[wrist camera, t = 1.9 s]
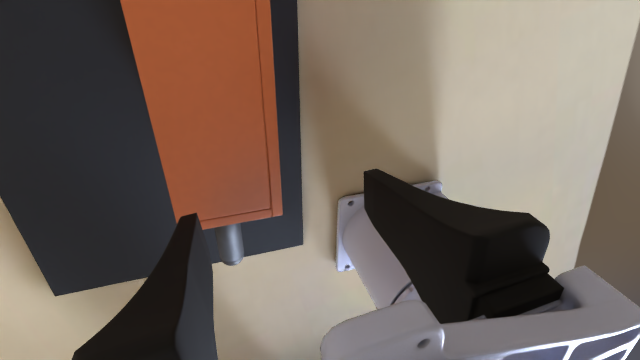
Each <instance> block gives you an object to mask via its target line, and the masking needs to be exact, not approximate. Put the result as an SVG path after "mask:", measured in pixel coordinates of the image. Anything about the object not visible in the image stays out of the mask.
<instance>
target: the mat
mask: <svg viewBox="0 0 640 360" xmlns="http://www.w3.org/2000/svg"><path fill="white" fill-rule="evenodd" d="M270 9H271V26H272V42H273V59H274V76H275V93H276V109H277V126H278V143H279V159H280V176H281V193H282V210H283V214H282V215H280V216H274V217H273V216H272V217H269V218H264V219H258V220H253V221H247V222H242V223H240V225H241V233H242V240H243V247H244V257H246V256H251V255H256V254H261V253H266V252H270V251H275V250H280V249H285V248H290V247H294V246H299V245H303V219H302V179H301V139H300V99H299V58H298V18H297V0H270ZM0 197H1V198H2V200H3V202H4V204H5V206H6V208H7V209H8V211H9V213H10V215H11V217H12V219H13V220H14V222H15V224H16V226H17V228H18V229H19V231H20V233H21V235H22V237H23V239H24V240H25V242H26V244H27V246H28V248H29V250H30V251H31V253H32V255H33V257H34V259H35V261H36V262H37V264H38V266H39V268H40V270H41V272H42V273H43V275H44V277H45V279H46V281H47V282H48V284H49V286H50V288H51V290H52V292H53V293H54V295H55V296H59V295H64V294H69V293H74V292H79V291H83V290H88V289H93V288H98V287H103V286H107V285H112V284H117V283H122V282H127V281H131V280H136V279H141V278H146V277H149V275H150V274H151V272H152V271H153V269H154V268H155V266H156V264H157V263H158V261H159V259H160V258H161V256H162V254H163V252H164V250H165V248H166V247H167V245H168V243H169V241H170V239H171V237H172V234H173V232H174V230H175V228H176V225H177V223H176V219H175V215H174V211H173V207H172V203H171V199H170V195H169V191H168V187H167V183H166V179H165V175H164V171H163V167H162V163H161V159H160V155H159V152H158V148H157V144H156V140H155V136H154V132H153V128H152V124H151V120H150V116H149V112H148V108H147V104H146V100H145V96H144V92H143V88H142V84H141V81H140V77H139V73H138V69H137V65H136V61H135V57H134V53H133V49H132V45H131V41H130V37H129V33H128V29H127V25H126V21H125V17H124V13H123V10H122V6H121V2H120V0H0ZM203 233H204V236H205V239H206V242H207V245H208V248H209V251H210V257H211V264H213V263H218V262H222V261H221V259H220V256H219V251H218V245H217V240H216V235H215V229H214V228H209V229H204V230H203Z"/></svg>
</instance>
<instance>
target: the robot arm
mask: <svg viewBox="0 0 640 360" xmlns="http://www.w3.org/2000/svg"><path fill="white" fill-rule="evenodd" d="M426 187H427V188H426ZM425 188H426V189H425ZM441 190H442V183H441V182H440V181H438V180H436V181H431V182H425V183H419V184H414V185H410V184H408V183H406V182H404V181H402V180H400V179H398V178H396V177H394V176H392V175H390V174H387V173H385V172H383V171H381V170H379V169H372V170H368V171H364V193H363V194H358V195H352V196H346V197H342V198H341V199H340V200H339V201H338V215H337V242H336V269H337V271H339V272H343V271H347V270H351V269H356V271H357V273H358V275H359V276H360V278H361V280H362V282H363V284H364V286H365V287H366V289H367V291H368V293H369V295H370V296H371V298H372V300H373V302H374V304H375V306H376V307H377V309H378V310H375V311H372V312H369V313H366V314H363V315H360V316H357V317H354V318H351V319H348V320H345V321H343V322H341V323H339V324H338V325H336V326H334V327H332V328H331V329H330V331H329V332H328V333H327V334H326V335H325V336H324V337H323V339H322V343H321V347H320V351H321V360H625V358H626V357H627V355H628V354H629V352H630V351H631V349H632V348H633V347H634V345H635V344H636V342H637V340H638V339H639V338H640V307H638V306H637V305H636V304H634V303H633V302H632V301H630V300H629V299H628V298H626V297H625V296H624V295H623V294H621V293H620V292H619V291H618V290H616V289H615V288H614V287H612V286H611V285H610V284H608V283H607V282H606V281H605V280H603V279H602V278H601V277H599V276H598V275H597V274H595V273H594V272H593V271H591V270H590V269H589V268H588V267H586V266H581V267H578V268H575V269H572V270H569V271H567V272H564V273H562V274H560V275H558V276H557V277H556V278H555V279H553V278H552V277H551V276H550V275H549V274H548V272H549V267H547V266H546V265H545V264H544V263H543V262H542V261H543V258H544V255H545V252H546V249H547V247H548V244H549V239H550V234H549V230H548V228H547V226H545V225H544V224H543V223H541V222H540V221H539V220H537V219H536V218H535V217H533V216H532V215H531V214H529V213H521V212H510V211H500V210H493V209H487V208H481V207H476V206H472V205H467V204H463V203H459V202H455V201H452V200H449V199H448V198H447V197H446V196H445V195H443V194H442V193H441ZM349 201H352V202H351V203H349ZM346 265H347V266H346ZM72 360H218V356H217V349H216V341H215V333H214V320H213V271H212V264H211V257H210V251H209V248H208V245H207V242H206V239H205V236H204V233H203V230H202V227H201V224H200V221H199V218H198V215H197V213H193V214H189V215H185V216H181V217H180V219H179V220H178V223H177V225H176V228H175V230H174V232H173V234H172V237H171V239H170V241H169V243H168V245H167V247H166V248H165V250H164V252H163V254H162V256H161V258H160V259H159V261H158V263H157V264H156V266H155V268H154V269H153V271H152V272H151V274H150V275H149V277H148V278H147V280H146V281H145V282H144V284H143V285H142V287H141V288H140V289H139V290H138V292H137V293H136V294H135V295H134V296H133V297H132V299H131V300H130V301H129V302H128V303H127V304H126V306H125V307H124V308H123V309H122V310H121V311H120V312H119V313H118V314H117V315H116V316H115V317H114V318H113V319H112V320H111V321H110V322H109V323H108V324H107V325H106V326H105V327H104V328H102V329H101V330H100V331H99V332H98V333H97V334H96V335H94V336H93V337H92V338H91V339H90V340H88V341H87V342H86V343H85V344H84V345H82V346H81V347H80V348H79V349H78V350H76V351H75V352H74V355H73V358H72Z"/></svg>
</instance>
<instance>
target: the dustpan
mask: <svg viewBox="0 0 640 360" xmlns="http://www.w3.org/2000/svg"><path fill="white" fill-rule="evenodd" d="M120 2H121V6H122V10H123V13H124V17H125V21H126V25H127V29H128V33H129V37H130V41H131V45H132V49H133V53H134V57H135V61H136V65H137V69H138V73H139V77H140V81H141V84H142V88H143V92H144V96H145V100H146V104H147V108H148V112H149V116H150V120H151V124H152V128H153V132H154V136H155V140H156V144H157V148H158V152H159V155H160V159H161V163H162V167H163V171H164V175H165V179H166V183H167V187H168V191H169V195H170V199H171V203H172V207H173V211H174V215H175V219H176V223H178V220H179V219H180V217H181V216H185V215H189V214H193V213H197V215H198V218H199V221H200V224H201V227H202V230H204V229H209V228H214V229H215V235H216V240H217V245H218V251H219V256H220V259H221V261H222V262H223V263H224V264H226V265H229V266H233V265H236V264H238V263H240V262H241V260H242V259H243V257H244V247H243V240H242V233H241V225H240V223H242V222H247V221H253V220H258V219H264V218H269V217H272V216H273V217H274V216H280V215H282V214H283V210H282V193H281V176H280V159H279V143H278V126H277V109H276V93H275V76H274V59H273V42H272V26H271V9H270V0H120Z"/></svg>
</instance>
